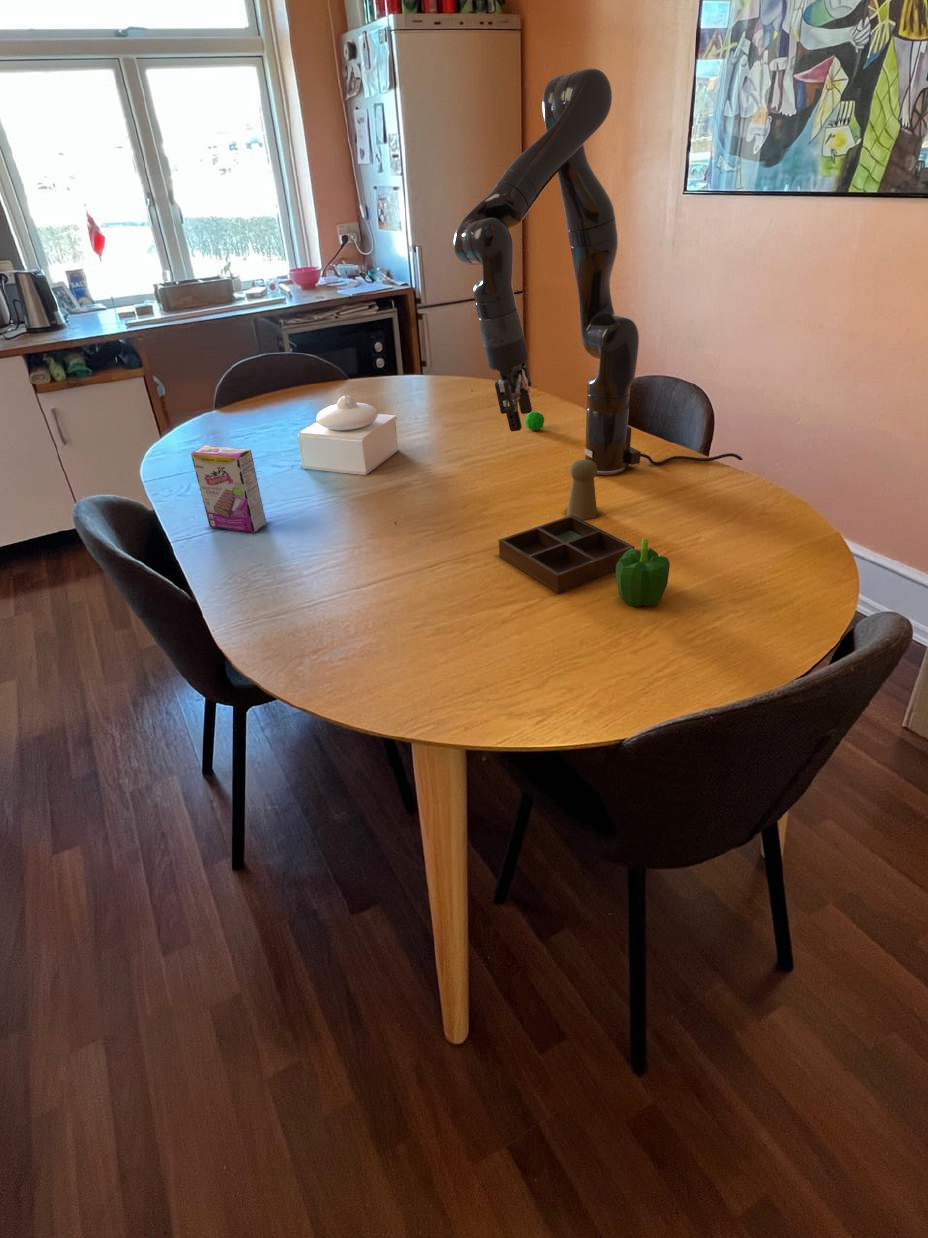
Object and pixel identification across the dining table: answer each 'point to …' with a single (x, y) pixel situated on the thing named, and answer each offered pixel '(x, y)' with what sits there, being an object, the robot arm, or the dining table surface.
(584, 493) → the pawn
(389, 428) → the butter dish
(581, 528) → the compartment tray
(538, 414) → the green pom-pom ball
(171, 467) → the dining table surface
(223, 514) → the candy bar box
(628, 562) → the bell pepper
